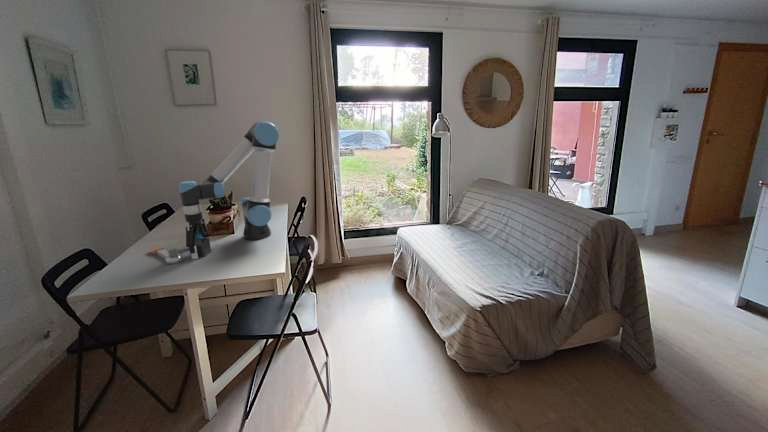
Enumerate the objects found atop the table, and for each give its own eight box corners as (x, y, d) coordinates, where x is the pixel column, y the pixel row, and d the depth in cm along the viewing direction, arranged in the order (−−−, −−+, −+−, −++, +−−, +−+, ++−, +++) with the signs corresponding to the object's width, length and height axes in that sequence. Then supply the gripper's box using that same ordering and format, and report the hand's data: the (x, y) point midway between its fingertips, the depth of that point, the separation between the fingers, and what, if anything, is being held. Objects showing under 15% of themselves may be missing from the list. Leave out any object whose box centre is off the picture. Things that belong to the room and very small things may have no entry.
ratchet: (147, 252, 179) (144, 241, 177) (162, 248, 184) (159, 237, 182) (169, 265, 162) (166, 252, 160) (185, 260, 167) (182, 248, 165)
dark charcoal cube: (211, 251, 178) (208, 237, 176) (204, 256, 171) (202, 242, 169) (197, 252, 178) (195, 238, 175) (190, 257, 171) (187, 243, 169)
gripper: (197, 207, 179) (204, 245, 186) (171, 220, 157) (181, 263, 163) (211, 206, 180) (218, 245, 186) (188, 219, 157) (197, 263, 163)
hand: (201, 254), depth 174 cm, fingers open, 11 cm apart
